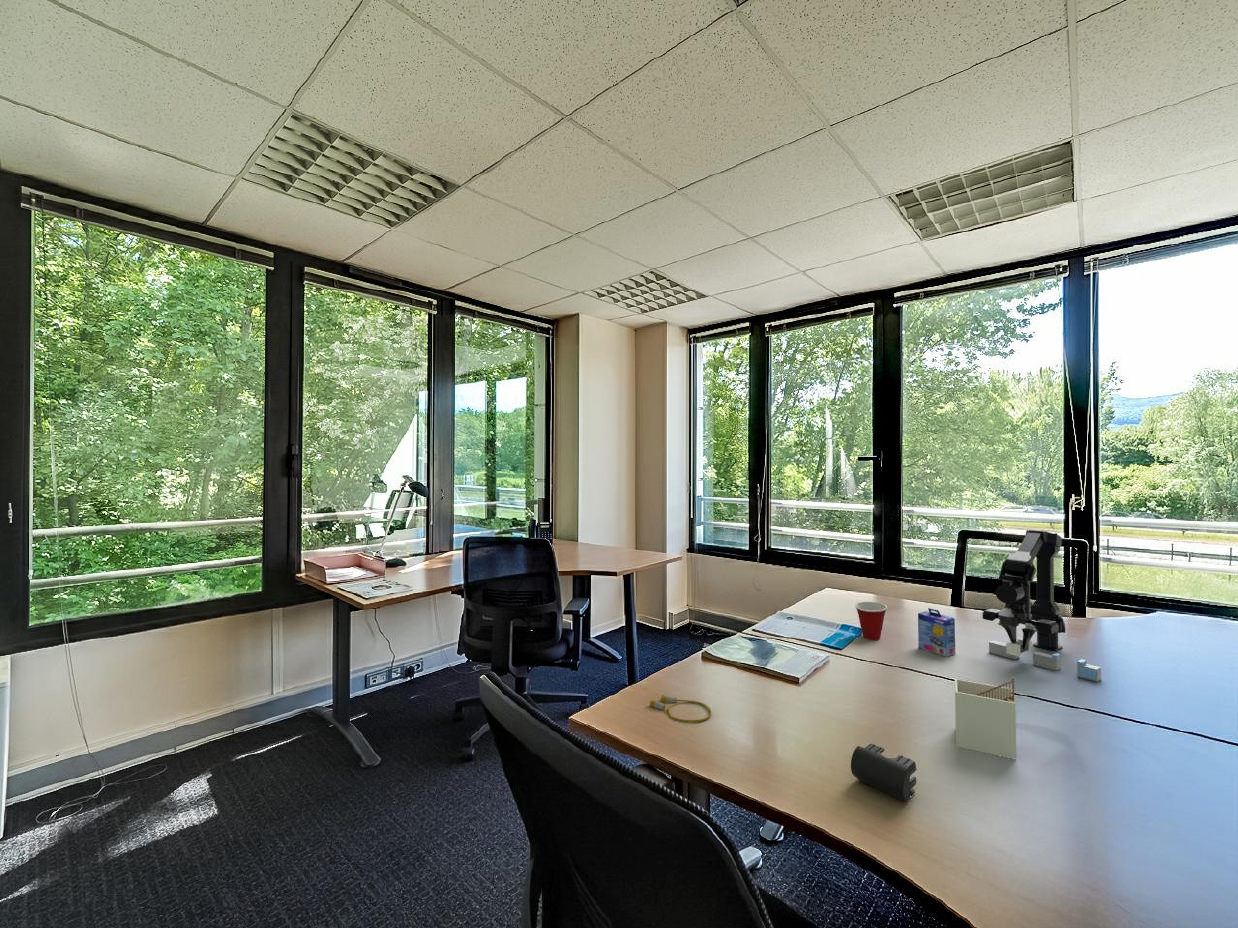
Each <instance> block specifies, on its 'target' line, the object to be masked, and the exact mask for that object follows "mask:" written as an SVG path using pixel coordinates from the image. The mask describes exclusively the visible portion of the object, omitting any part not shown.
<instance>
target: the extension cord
mask: <svg viewBox="0 0 1238 928" xmlns="http://www.w3.org/2000/svg"><path fill="white" fill-rule="evenodd" d="M675 702H676V703H675ZM678 702H679V703H678ZM687 702H688V703H687ZM674 703H675V704H674ZM681 703H683V704H696V703H697V704H696V705H700V706H702V705H703V706H702V707H703V708H704V709H706V708H707V709H708V710H709V711H710V712H709V711H708V710H707V709H706V710H707V711H708V712H709V715H708V716H707V717H704V718H700V719H685V718H684V719H683V718H678V717H675V716H672V715H671V713H670V709H671V708H673V707H675V706H679V705H682V704H681ZM666 704H673V705H670V706H668V708H667V707H666ZM678 704H679V705H678ZM649 706H650V707H651V708H654V709H657V710H663V711H665V714H666V716H668V715H669V717H670V718H671V719H672V720H674V719H675V720H674V721H677V720H679V721H678V722H682V721H685V722H684V723H687V722H693V723H692V724H695V722H698V723H702V722H704V720H705V721H708V720H709V719H710V718H711V717H712V709H711V708H710V707H709V705H707V704H706V703H704V702H700V701H696V700H689V699H687V700H685V699H677V697H674V696H669V695H667V696H666V695H664V694H662V695H661V696H660V701H657V700H652V699H651V700H650V702H649ZM666 708H667V709H666ZM707 719H708V720H707ZM701 721H702V722H701Z"/></svg>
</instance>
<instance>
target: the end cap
mask: <svg viewBox="0 0 1238 928" xmlns="http://www.w3.org/2000/svg"><path fill="white" fill-rule="evenodd" d="M883 752H885V748H884V747H881V746H878V745H876V744H873V743H869V744H868V745H866V746H865V747H863V746H860V745H857V746H856V747H855V749H854V750H853V753H852V756H851V759H850V770H851V774H852V775H853V777H855V778H856V779H857V780H858V781H861V783H862V782H863V783H864V784H866V785H868V786H870V787H873V788H875V789H877V790H880V791H882V792H884V793H886V794H888V795H890V796H893V797H894V796H895V798H896V797H897V798H896V799H898V800H901V801H903V802H905V801H906V802H908V801H909V800H910V799H911V798H910V796H912V795H913V794H914V793H915V794H916V790H915V789H916V788H914V787H915V786H916V785H917V782H918V781H917V777H916V776H912V775H913V774H914V773H916V771H917V764H916V762H915V761H914V760H913V759H911V758H910V757H909V758H908V757H905V756H903V754H902V755H901V754H899V755H897V756H896V757H893V758H891V757H886V756H884V755H882V753H883ZM911 776H912V777H911ZM915 794H914V795H915ZM914 795H913V796H914ZM913 796H912V797H913ZM907 800H908V801H907Z"/></svg>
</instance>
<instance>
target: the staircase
mask: <svg viewBox="0 0 1238 928" xmlns="http://www.w3.org/2000/svg"><path fill="white" fill-rule="evenodd" d="M1011 686H1012V687H1011ZM954 701H955V702H954V708H955V709H954V711H955V712H954V713H955V714H954V715H955V716H954V717H955V718H954V719H955V720H954V721H955V728H954V729H955V746H956V747H958V748H963V749H967V750H970V751H971V750H972V751H975V750H976V752H980V751H981V752H980V753H984V752H985V753H984V754H988V753H990V754H989V755H992V754H995V755H994V756H997V755H1001V756H1005V757H1009V758H1008V759H1010V758H1014V759H1016V760H1017V729H1016V728H1017V727H1016V724H1017V723H1016V722H1017V721H1016V720H1017V719H1016V718H1017V716H1016V714H1017V713H1016V711H1017V710H1016V708H1017V706H1016V705H1017V703H1016V702H1015V678H1014V677H1011V680H1010V681H1008V682H1006V683H1002V684H1000V685H992V684H987V683H981V682H975V681H971V680H964V679H959V678H954ZM1001 756H1000V757H1001ZM1005 757H1004V758H1005ZM1014 759H1013V760H1014Z"/></svg>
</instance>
